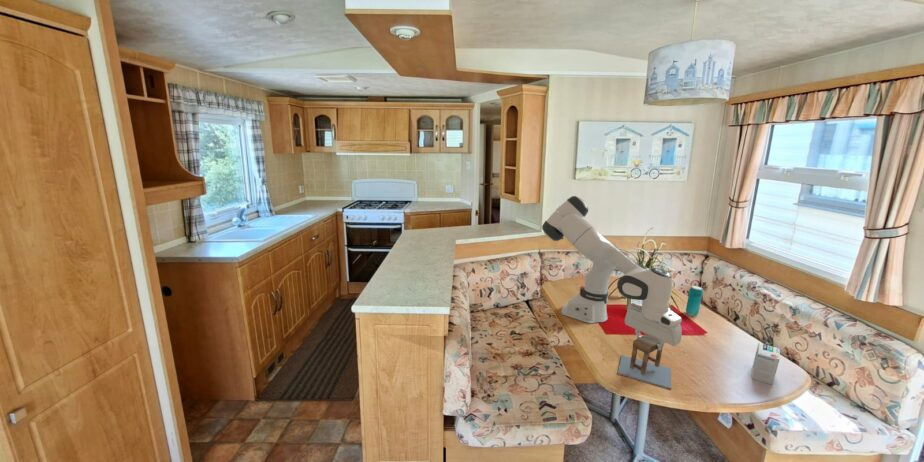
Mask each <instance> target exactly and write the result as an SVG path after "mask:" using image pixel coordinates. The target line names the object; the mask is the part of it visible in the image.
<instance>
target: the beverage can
mask: <svg viewBox="0 0 924 462" xmlns="http://www.w3.org/2000/svg"><path fill="white" fill-rule="evenodd" d="M703 292H704V291H703V287H701V286H699V285H690V288H689V291H688V296H687V302H686V308H685V310H686V311H685V312H686V314H687V315H688V316H691V317H696V316H698V314H699V313H700V308H701V302H702V297H703Z"/></svg>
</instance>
